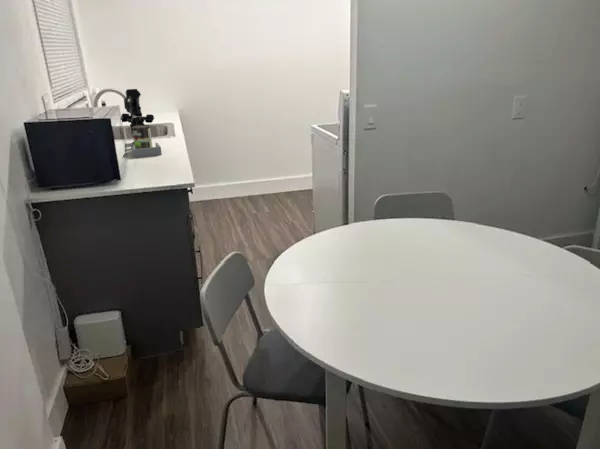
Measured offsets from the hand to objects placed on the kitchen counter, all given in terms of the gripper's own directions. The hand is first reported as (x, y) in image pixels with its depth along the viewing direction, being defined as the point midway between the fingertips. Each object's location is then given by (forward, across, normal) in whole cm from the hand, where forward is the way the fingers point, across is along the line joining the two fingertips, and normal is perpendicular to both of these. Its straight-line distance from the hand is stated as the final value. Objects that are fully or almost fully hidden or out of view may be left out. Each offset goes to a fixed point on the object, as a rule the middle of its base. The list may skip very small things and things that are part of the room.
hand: (140, 130), depth 281 cm
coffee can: (+14, 0, +1) cm, 14 cm away
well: (+20, +2, +10) cm, 22 cm away
